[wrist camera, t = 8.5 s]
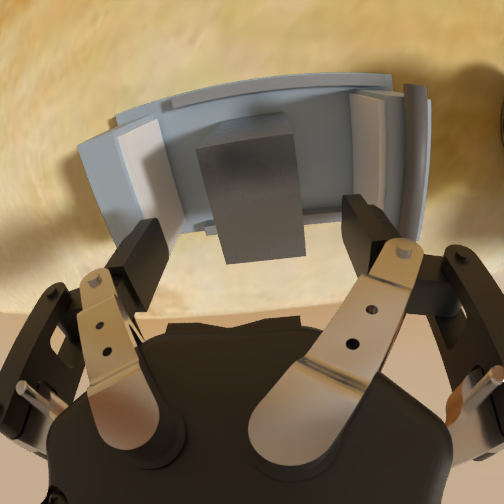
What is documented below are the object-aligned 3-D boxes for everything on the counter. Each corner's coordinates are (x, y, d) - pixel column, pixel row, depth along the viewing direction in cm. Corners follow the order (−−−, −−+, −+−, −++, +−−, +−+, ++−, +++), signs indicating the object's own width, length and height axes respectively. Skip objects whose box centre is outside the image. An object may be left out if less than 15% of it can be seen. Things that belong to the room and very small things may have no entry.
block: (240, 198, 21) (226, 264, 14) (223, 120, 17) (195, 149, 11) (293, 191, 20) (306, 255, 14) (282, 111, 17) (292, 133, 10)
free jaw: (352, 209, 21) (381, 267, 15) (345, 79, 15) (388, 82, 9) (386, 206, 20) (424, 261, 14) (386, 80, 14) (442, 89, 9)
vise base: (159, 230, 24) (128, 283, 18) (122, 112, 18) (66, 134, 12) (386, 205, 21) (422, 255, 15) (385, 74, 15) (437, 78, 9)
